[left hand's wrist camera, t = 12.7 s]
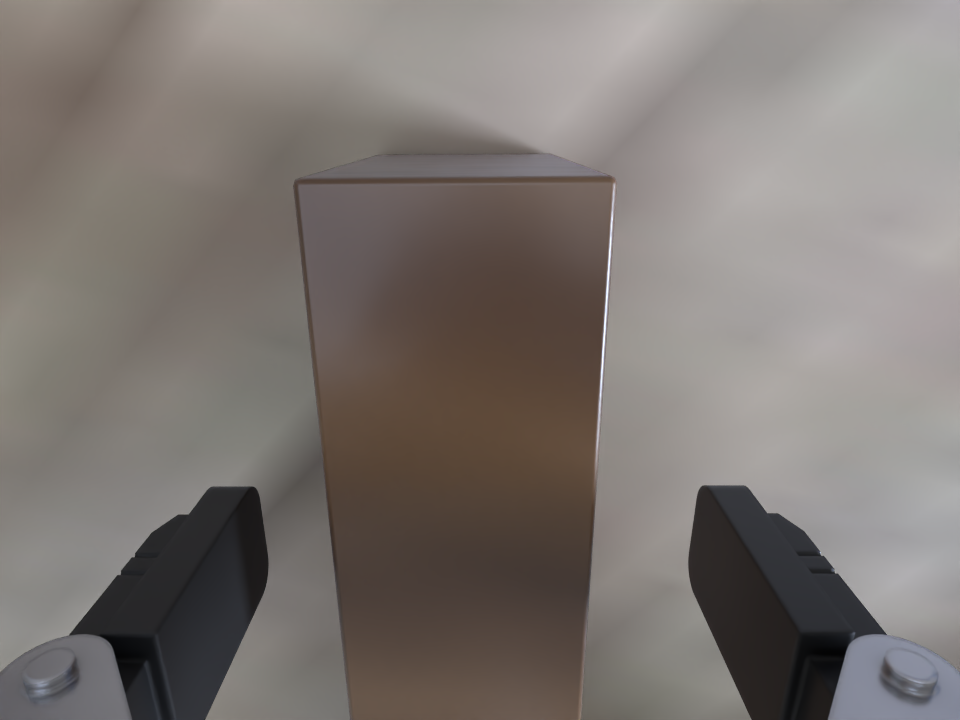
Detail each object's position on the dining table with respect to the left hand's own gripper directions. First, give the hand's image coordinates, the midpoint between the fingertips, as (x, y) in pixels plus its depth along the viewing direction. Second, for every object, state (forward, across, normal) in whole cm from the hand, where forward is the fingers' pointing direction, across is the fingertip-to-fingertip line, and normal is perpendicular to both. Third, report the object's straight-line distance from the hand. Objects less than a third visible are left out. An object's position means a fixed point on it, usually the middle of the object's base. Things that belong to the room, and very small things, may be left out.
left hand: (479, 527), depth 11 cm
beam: (+5, 0, -22) cm, 23 cm away
